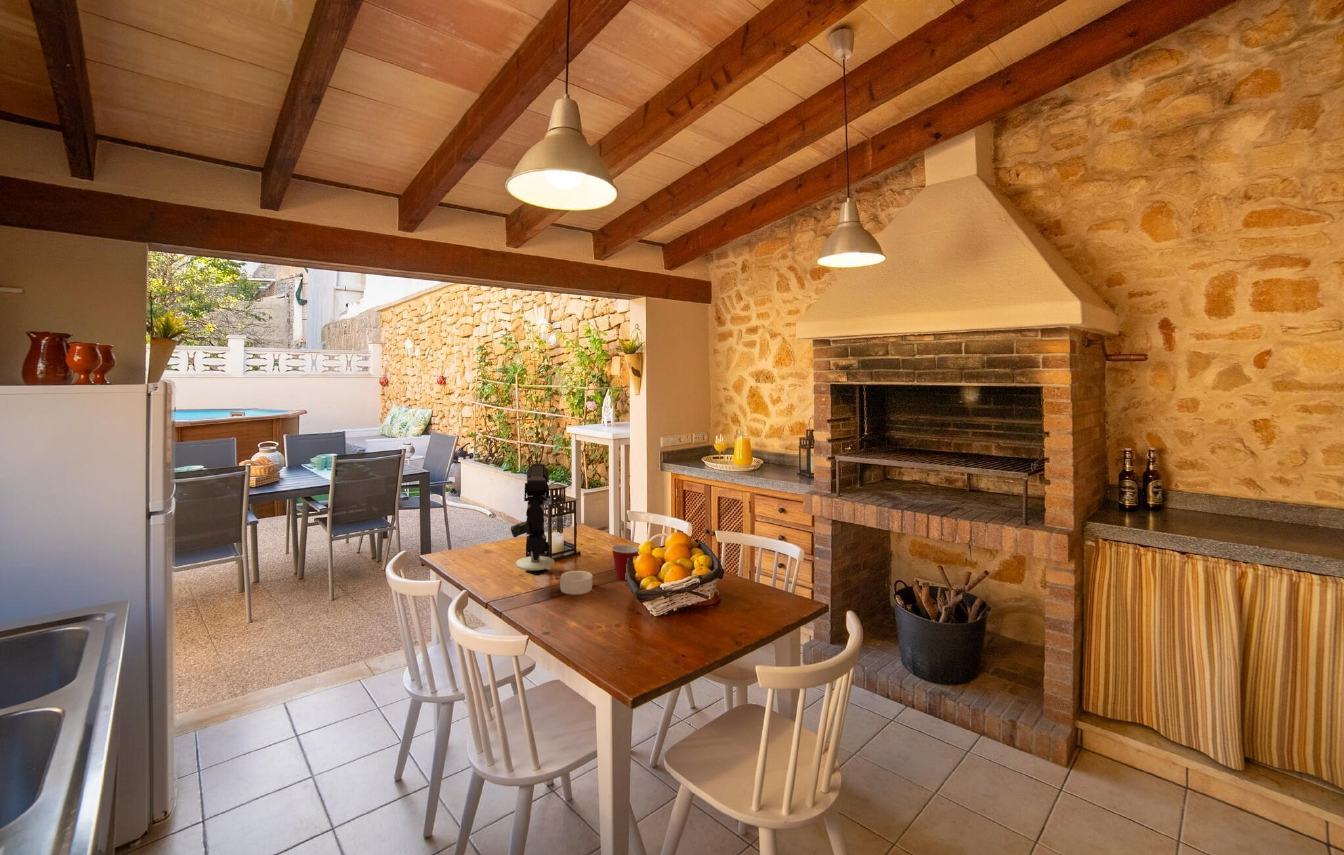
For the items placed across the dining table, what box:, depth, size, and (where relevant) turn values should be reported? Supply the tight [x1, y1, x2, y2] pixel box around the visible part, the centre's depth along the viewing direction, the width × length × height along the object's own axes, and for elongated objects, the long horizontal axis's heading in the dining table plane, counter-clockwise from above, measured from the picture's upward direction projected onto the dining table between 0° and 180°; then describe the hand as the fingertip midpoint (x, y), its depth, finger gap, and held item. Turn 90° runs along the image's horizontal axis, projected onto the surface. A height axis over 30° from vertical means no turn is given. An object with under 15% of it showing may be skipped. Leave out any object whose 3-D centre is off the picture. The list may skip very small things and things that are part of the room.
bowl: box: [559, 570, 593, 596], centre depth 213 cm, size 11×11×5 cm
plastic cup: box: [611, 544, 640, 581], centre depth 227 cm, size 11×11×12 cm
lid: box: [515, 551, 555, 571], centre depth 209 cm, size 13×13×4 cm
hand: (535, 558), depth 209 cm, fingers closed on lid, 3 cm apart
